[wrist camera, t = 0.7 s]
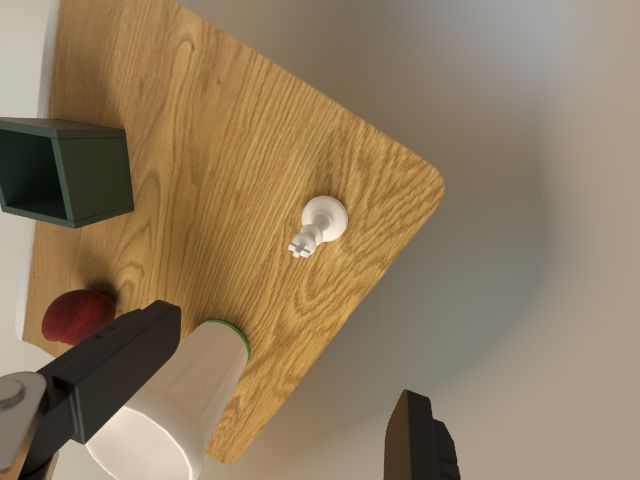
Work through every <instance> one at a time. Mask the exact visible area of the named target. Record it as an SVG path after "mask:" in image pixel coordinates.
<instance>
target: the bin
mask: <svg viewBox="0 0 640 480" xmlns="http://www.w3.org/2000/svg"><path fill="white" fill-rule="evenodd" d="M0 204H1V209H2V211H3V212H6V213H10V214H14V215H18V216H23V217H27V218H31V219H35V220H40V221H44V222H48V223H52V224H57V225H61V226H65V227H69V228H74V229H76V228H79V227H83V226H86V225H89V224H93V223H96V222H99V221H102V220H106V219H109V218H112V217H116V216H119V215H122V214H125V213H129V212H132V211H134V206H133V197H132V188H131V180H130V171H129V162H128V154H127V145H126V136H125V130H122V129H115V128H109V127H103V126H96V125H90V124H84V123H78V122H71V121H65V120H59V119H38V118H9V117H0Z"/></svg>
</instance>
